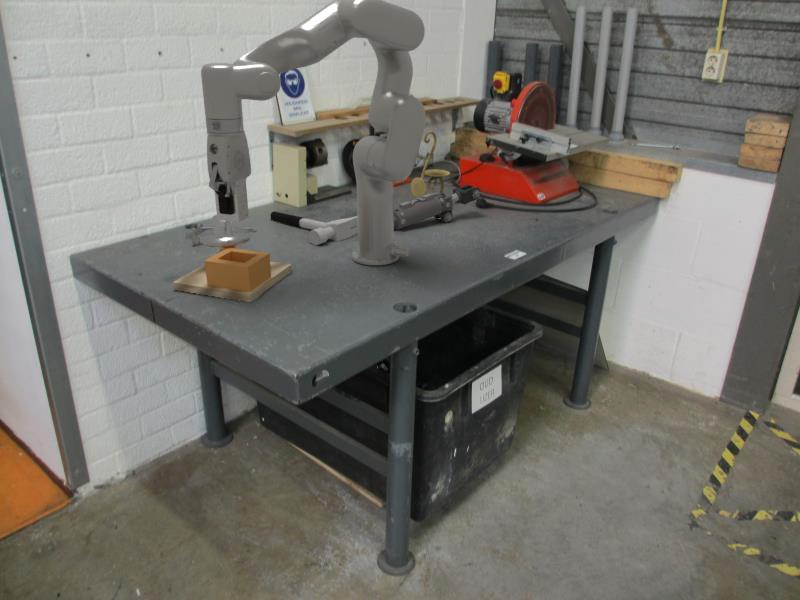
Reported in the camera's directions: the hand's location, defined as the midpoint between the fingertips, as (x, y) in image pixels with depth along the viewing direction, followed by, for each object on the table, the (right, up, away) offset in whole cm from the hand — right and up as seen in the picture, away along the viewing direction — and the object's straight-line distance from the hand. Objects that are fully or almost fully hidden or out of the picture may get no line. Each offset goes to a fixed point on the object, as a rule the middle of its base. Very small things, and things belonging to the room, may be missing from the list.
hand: (232, 210), depth 139 cm
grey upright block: (0, -2, +1) cm, 2 cm away
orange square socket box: (-3, -15, +12) cm, 20 cm away
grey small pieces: (-13, -3, +42) cm, 44 cm away
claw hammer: (+10, +1, +52) cm, 53 cm away
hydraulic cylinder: (+46, +4, +59) cm, 75 cm away
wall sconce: (+48, +13, +78) cm, 93 cm away
